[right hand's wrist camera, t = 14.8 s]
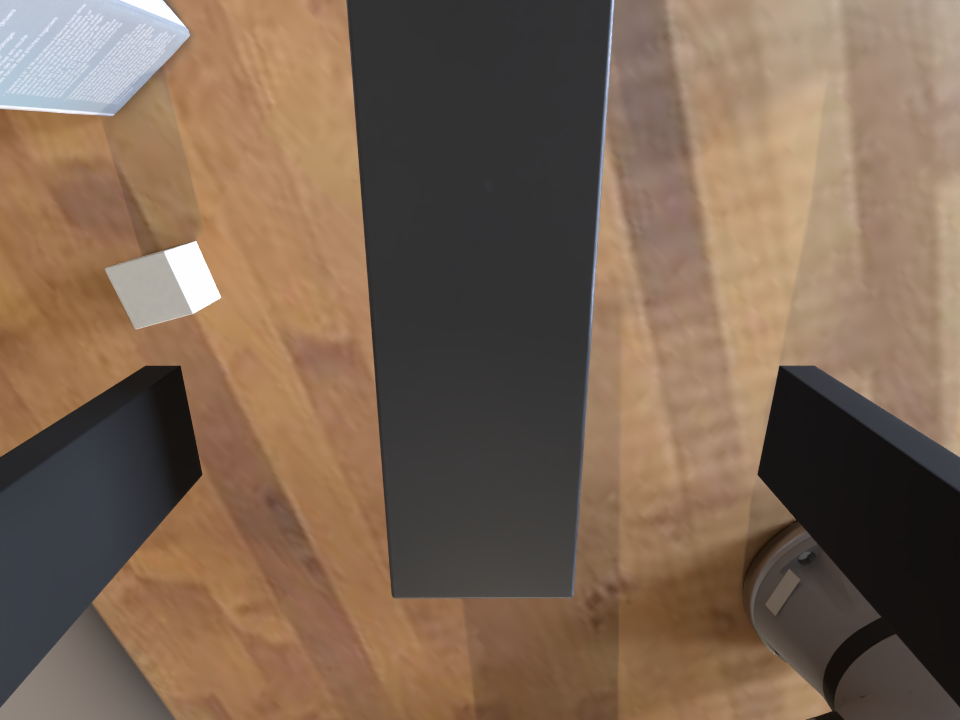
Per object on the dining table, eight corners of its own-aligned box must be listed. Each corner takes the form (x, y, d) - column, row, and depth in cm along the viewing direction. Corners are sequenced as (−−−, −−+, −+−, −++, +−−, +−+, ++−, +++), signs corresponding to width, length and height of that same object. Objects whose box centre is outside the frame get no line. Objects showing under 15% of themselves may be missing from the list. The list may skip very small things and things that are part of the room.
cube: (196, 240, 37) (164, 251, 33) (221, 297, 38) (193, 313, 34) (141, 256, 37) (103, 268, 33) (168, 312, 38) (134, 329, 35)
